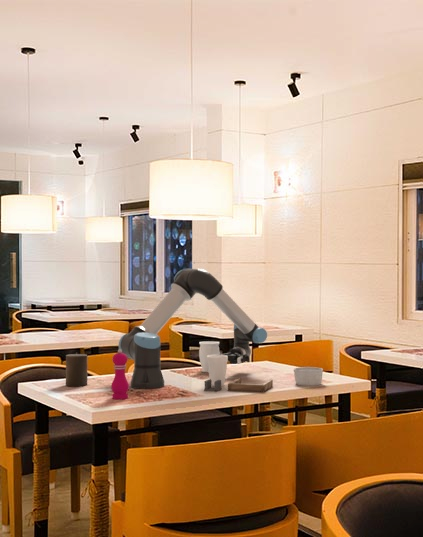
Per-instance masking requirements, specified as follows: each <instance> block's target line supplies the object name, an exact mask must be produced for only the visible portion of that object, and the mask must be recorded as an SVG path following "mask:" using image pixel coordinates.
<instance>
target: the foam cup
mask: <svg viewBox="0 0 423 537" xmlns="http://www.w3.org/2000/svg"><path fill="white" fill-rule="evenodd" d="M228 362H229V361H228V356H227V355H223V354H222V355H208V356H207V363H208V371H209V372H208V378H209V379H211V386H212V387H214V382H215V381H217V380H221V387H223V386H225V383H226V378H227V377H226V376H227V368H228V367H227V366H228Z"/></svg>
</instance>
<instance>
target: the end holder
mask: <svg viewBox="0 0 423 537" xmlns="http://www.w3.org/2000/svg"><path fill="white" fill-rule="evenodd" d="M273 384H274V383H273V379H268V380H266V381H265V382H263V383H261V384H255V383H242V378H236V379H234V380H232V381H230V382H228V383H227V391H228V392H245V393H246V392H247V393H265V392H267V391H269V390H270V389H271V388H273V387H274V386H273Z"/></svg>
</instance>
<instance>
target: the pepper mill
mask: <svg viewBox="0 0 423 537" xmlns="http://www.w3.org/2000/svg"><path fill="white" fill-rule="evenodd" d="M127 362H128V358H127V356H126V355H125V354H124V353H122V350H121V349H119V348H118V350H117V353H114V355H113V356H112V363H113V369H114V372H115V373H114V378H113V380H112V383H111V385H110V386H111V388H110V389H111V391H112V399H113V400H127V399H129V394H128V393H127V392H128V391H129V389H130V385H129V381H128V379H127V377H126V369H127V364H126V363H127Z"/></svg>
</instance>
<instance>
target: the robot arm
mask: <svg viewBox="0 0 423 537" xmlns="http://www.w3.org/2000/svg"><path fill="white" fill-rule="evenodd" d="M170 287H171V288H170V289H171V290H170V291H169V292H168V293H166V295H165V296H164V297H163V298H162V300H161V301H160V302H159V304H157V305H156V306H155V308H154V309H153V310H152V311H151V313H150V314H149V315H148V316H147V317H146V318H145V320H144V321H143V322H141V324H140V325H135V326H134V327H133V328H132V329H131V331H129V332H127V333H125V334H123V335H122V336H121V337H120V339H119V341H118V350H119V349H121V350H122V353H124V354H125V355H126V356H127V360H133V362H134V363H133V364H134V365H133V372H132V375H131V379H130V387H131V388H134V389H158V388H162V387H165V380H164V376H163V373H162V369H161V345H162V343H161V337H160V335H158V333H160V331H161V330H162V329H163V328H164V326H165V325H166V324H167V323H168V322H169V321H170V319H171V318H172V317H173V316H174V315H175V314H176V313H177V311H178V310H179V309H180V308H181V306H182V305H183V304H184V303H185V302H189V301H191V300H192V298H193V297H194V296H195V295H196V294H199V295H202V296H203V297H204V298H206V300H208V301H211V302H213V304H214V305H215V306H216V307H218V309H219V310H220V311H221V312H222V313H223V314H224V315H225V316H226V317H227V318H228V319H229V320H230V321H231V323H233V341H234V342H233V348H231V349H229V350H228V351H227V353H221V352H220V354H216V355H227V356H228V361H227V362H230V363H231V364H233V365H236V364H237V365H241V364H242V363H246V362H247V363H250V362H251V360H250V356H252V355H251V354H252V350H251V348H250V343H254V344H263V343H264V342H266V340H267V338H268V332H267V330H266V329H265V328H264V327H261V326H258V324H257V323H256V322H254V321H253V319H251V317H249V315H248V314H247V313H246V312H245V311H244V310H243V308H241V306H239V305H238V303H237V302H236V301H235V300H234V299H233V298H232V297H231V296H230V295H229V294H228V293H227V292H226V291H225V290H224V287H223V285H222V284H221V282H220V281H219V280H218V279H217V278H215V276H213V274H212V273H210V272H209V271H207V270H206V269H203V268H184V269H181V270H179V271H177V273H176V274H175V276H174V277H173V282H172V283H171V286H170Z"/></svg>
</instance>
